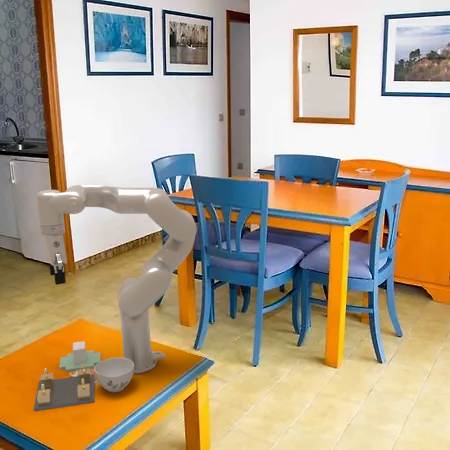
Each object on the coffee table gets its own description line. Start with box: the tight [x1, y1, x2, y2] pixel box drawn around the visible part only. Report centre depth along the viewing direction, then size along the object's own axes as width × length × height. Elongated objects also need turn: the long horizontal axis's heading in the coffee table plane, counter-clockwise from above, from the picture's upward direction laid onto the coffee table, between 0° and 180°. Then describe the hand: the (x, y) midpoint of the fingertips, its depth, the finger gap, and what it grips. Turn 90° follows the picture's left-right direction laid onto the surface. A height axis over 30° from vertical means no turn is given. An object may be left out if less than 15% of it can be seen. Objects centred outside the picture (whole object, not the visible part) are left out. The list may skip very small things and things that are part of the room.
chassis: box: [33, 363, 96, 412], centre depth 180 cm, size 18×16×7 cm
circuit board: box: [59, 340, 102, 373], centre depth 200 cm, size 14×12×6 cm
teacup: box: [93, 357, 134, 393], centre depth 183 cm, size 15×12×8 cm
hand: (57, 279), depth 185 cm, fingers open, 9 cm apart
